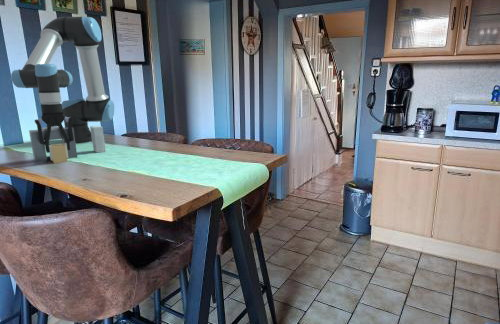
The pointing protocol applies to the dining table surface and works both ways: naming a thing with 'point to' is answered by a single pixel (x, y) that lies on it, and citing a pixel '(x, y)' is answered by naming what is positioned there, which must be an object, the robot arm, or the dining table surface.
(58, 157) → the plug
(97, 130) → the skincare box
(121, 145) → the dining table surface
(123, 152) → the dining table surface
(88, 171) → the dining table surface
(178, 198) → the dining table surface
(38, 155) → the housing
